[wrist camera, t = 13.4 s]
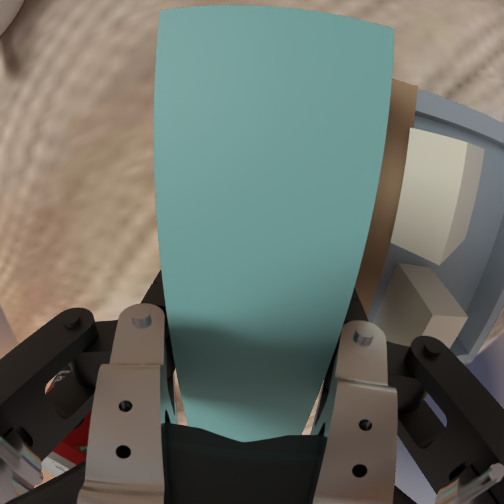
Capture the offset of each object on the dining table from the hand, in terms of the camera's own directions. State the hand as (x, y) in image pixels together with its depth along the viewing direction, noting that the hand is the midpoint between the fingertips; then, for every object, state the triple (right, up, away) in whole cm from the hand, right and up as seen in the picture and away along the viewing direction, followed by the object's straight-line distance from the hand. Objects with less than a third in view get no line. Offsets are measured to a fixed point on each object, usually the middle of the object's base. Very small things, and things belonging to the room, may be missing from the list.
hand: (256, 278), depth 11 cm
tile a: (+8, +4, +1) cm, 9 cm away
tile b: (+8, -3, +4) cm, 9 cm away
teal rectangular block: (0, 0, 0) cm, 1 cm away
